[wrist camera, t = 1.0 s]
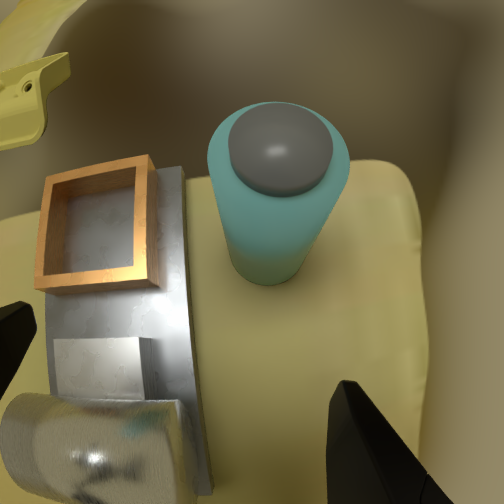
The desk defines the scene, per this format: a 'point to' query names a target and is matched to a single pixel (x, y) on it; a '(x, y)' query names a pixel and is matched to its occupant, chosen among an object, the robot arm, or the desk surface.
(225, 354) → the desk surface
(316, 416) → the desk surface
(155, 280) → the motor assembly
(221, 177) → the teal cylinder grey dome
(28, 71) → the plastic component
